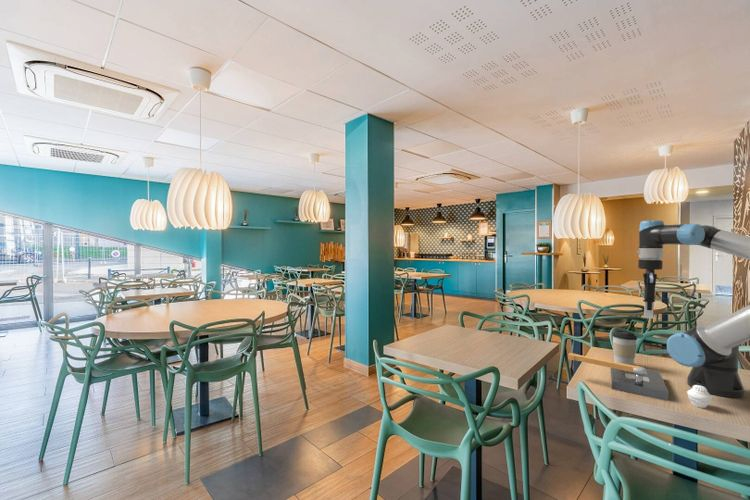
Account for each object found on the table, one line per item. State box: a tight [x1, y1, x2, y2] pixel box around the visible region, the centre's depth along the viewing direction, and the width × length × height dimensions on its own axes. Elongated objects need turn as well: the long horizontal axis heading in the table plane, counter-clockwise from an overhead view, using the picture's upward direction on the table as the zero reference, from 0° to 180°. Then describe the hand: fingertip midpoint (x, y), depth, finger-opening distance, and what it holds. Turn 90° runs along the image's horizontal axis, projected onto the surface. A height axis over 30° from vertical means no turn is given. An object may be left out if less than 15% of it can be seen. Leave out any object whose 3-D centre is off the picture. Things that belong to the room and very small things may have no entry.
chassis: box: [610, 368, 670, 401], centre depth 131 cm, size 16×24×7 cm, turn 146°
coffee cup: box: [611, 330, 638, 366], centre depth 152 cm, size 9×9×15 cm
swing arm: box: [567, 352, 647, 374], centre depth 130 cm, size 4×24×2 cm, turn 49°
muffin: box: [686, 385, 713, 409], centre depth 113 cm, size 6×6×7 cm
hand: (648, 317), depth 136 cm, fingers closed
